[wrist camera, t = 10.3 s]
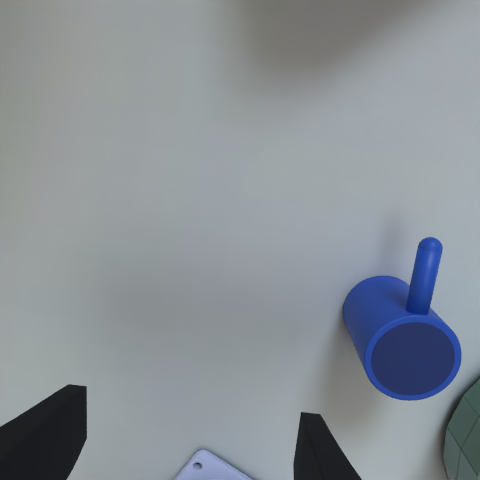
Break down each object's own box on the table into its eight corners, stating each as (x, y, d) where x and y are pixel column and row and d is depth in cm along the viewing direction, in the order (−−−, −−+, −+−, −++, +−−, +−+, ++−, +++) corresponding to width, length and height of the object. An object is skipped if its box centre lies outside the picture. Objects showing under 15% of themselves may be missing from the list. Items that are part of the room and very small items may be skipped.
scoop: (410, 348, 22) (451, 406, 17) (337, 340, 22) (357, 395, 18) (438, 221, 21) (491, 246, 16) (358, 213, 21) (386, 236, 16)
